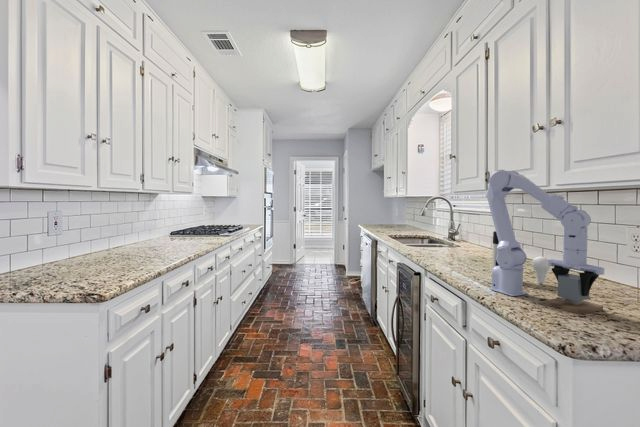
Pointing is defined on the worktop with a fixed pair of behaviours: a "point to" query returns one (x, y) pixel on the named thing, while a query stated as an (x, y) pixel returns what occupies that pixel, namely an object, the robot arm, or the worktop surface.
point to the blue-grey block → (570, 287)
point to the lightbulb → (540, 268)
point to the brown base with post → (574, 305)
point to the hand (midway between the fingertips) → (573, 292)
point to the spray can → (494, 250)
